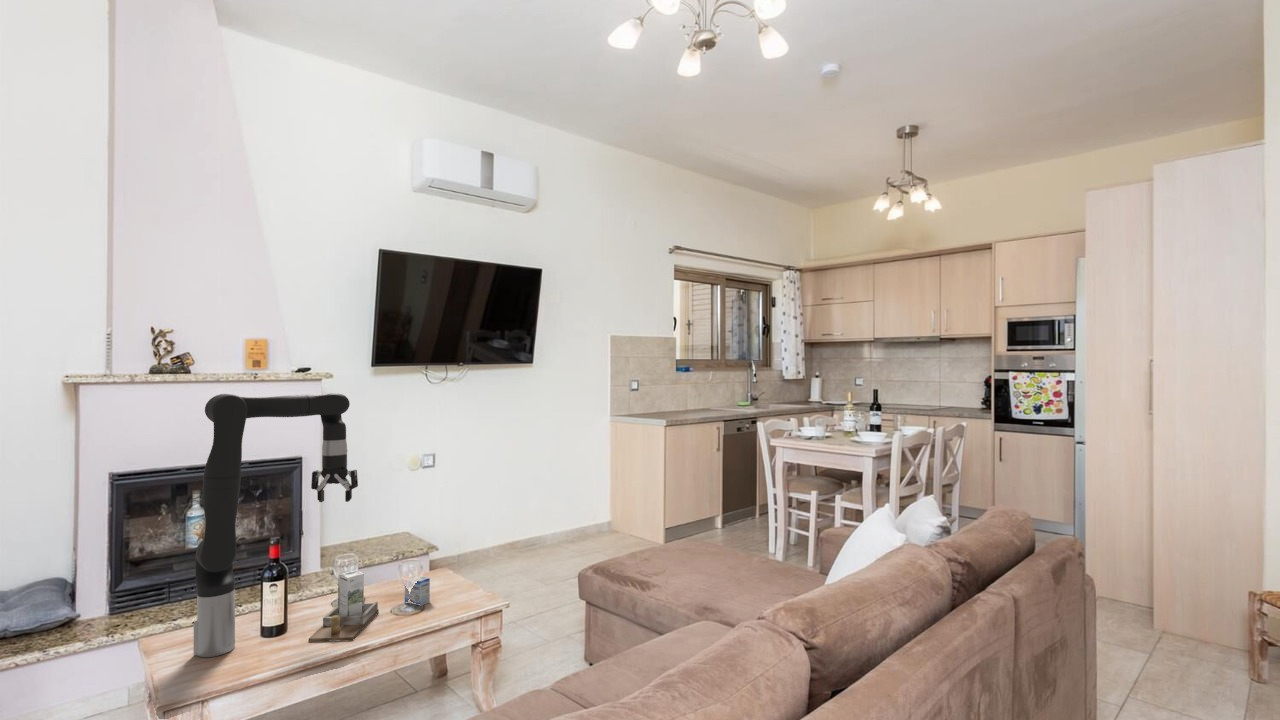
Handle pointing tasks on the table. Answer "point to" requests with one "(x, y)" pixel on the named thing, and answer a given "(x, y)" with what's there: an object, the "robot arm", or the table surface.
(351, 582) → the syrup box
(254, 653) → the table surface
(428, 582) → the medicine box
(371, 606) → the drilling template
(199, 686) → the table surface
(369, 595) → the table surface
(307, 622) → the table surface
